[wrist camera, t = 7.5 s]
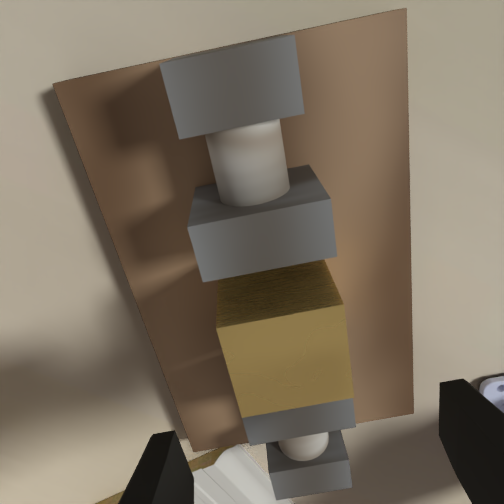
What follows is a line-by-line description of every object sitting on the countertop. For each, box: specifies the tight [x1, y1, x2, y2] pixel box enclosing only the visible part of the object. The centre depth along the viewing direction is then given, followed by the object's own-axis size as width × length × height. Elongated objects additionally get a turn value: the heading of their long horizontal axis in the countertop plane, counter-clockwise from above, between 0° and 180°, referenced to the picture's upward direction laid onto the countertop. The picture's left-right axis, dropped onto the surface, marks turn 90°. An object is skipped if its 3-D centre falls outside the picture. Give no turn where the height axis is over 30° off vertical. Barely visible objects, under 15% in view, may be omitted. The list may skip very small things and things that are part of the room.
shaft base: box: [53, 8, 414, 500], centre depth 17 cm, size 12×19×5 cm, turn 11°
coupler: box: [216, 259, 354, 418], centre depth 16 cm, size 4×4×5 cm
